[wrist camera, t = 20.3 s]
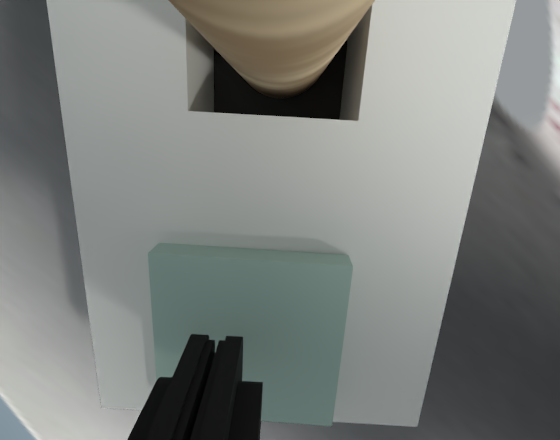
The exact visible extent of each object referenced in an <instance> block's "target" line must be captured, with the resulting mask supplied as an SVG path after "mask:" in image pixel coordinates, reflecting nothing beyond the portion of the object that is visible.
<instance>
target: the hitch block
mask: <svg viewBox="0 0 560 440" xmlns="http://www.w3.org/2000/svg"><path fill="white" fill-rule="evenodd" d="M46 1H47V9H48V16H49V24H50V31H51V38H52V46H53V53H54V61H55V68H56V76H57V83H58V91H59V98H60V106H61V113H62V120H63V128H64V135H65V143H66V150H67V158H68V165H69V173H70V180H71V188H72V195H73V203H74V210H75V217H76V225H77V232H78V240H79V247H80V255H81V262H82V270H83V277H84V285H85V292H86V299H87V307H88V314H89V322H90V329H91V337H92V344H93V352H94V359H95V367H96V374H97V381H98V389H99V396H100V404H101V408H110V409H127V410H142V409H143V407H144V405H145V403H146V401H147V399H148V397H149V395H150V393H151V391H152V389H153V387H154V385H155V383H156V366H155V352H154V337H153V323H152V308H151V293H150V279H149V264H148V252H149V251H150V250H152V249H153V248H154V247H155V246H156V245H157V244H158V243H170V244H187V245H204V246H219V247H234V248H249V249H265V250H280V251H295V252H310V253H326V254H341V255H348V256H349V258H350V260H351V263H352V265H353V272H352V279H351V287H350V295H349V302H348V310H347V317H346V325H345V332H344V340H343V347H342V355H341V363H340V370H339V378H338V385H337V393H336V400H335V408H334V415H333V422H343V423H360V424H377V425H394V426H410V427H417V426H418V421H419V417H420V413H421V409H422V404H423V400H424V396H425V391H426V387H427V383H428V378H429V374H430V370H431V365H432V361H433V357H434V352H435V348H436V344H437V340H438V335H439V331H440V327H441V322H442V318H443V314H444V309H445V305H446V301H447V296H448V292H449V288H450V283H451V279H452V275H453V271H454V266H455V262H456V258H457V253H458V249H459V245H460V240H461V236H462V232H463V227H464V223H465V219H466V215H467V210H468V206H469V202H470V197H471V193H472V189H473V184H474V180H475V176H476V171H477V167H478V163H479V158H480V154H481V150H482V146H483V141H484V137H485V133H486V128H487V124H488V120H489V115H490V111H491V107H492V102H493V98H494V94H495V89H496V85H497V81H498V77H499V72H500V68H501V63H502V59H503V55H504V51H505V46H506V42H507V38H508V33H509V29H510V25H511V20H512V16H513V12H514V7H515V3H516V0H375V1H374V2H373V4H372V5H371V6H370V8H369V9H368V11H367V12H366V13H365V15H364V16H363V17H362V19H361V20H360V22H359V23H358V24H357V26H356V27H355V28H354V30H353V31H352V33H351V34H350V35H349V37H348V41H347V51H346V61H345V70H344V80H343V89H342V99H341V109H340V118H339V120H335V119H318V118H300V117H283V116H266V115H248V114H231V113H214V47H213V46H212V45H211V44H210V43H209V42H208V41H207V40H206V39H205V38H204V37H203V36H202V35H201V34H200V33H199V32H198V31H197V30H196V29H195V28H194V27H193V26H192V25H191V24H190V22H189V21H188V20H187V19H186V18H185V17H184V16H183V15H182V14H181V13H180V12H179V11H178V10H177V9H176V8H175V7H174V6H173V5H172V4H171V3H170V2H169V1H168V0H46Z"/></svg>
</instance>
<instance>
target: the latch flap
mask: <svg viewBox="0 0 560 440" xmlns="http://www.w3.org/2000/svg"><path fill="white" fill-rule="evenodd" d="M148 264H149V279H150V293H151V308H152V323H153V337H154V352H155V366H156V381H157V379H158V378H159V377H173V374H174V372H175V370H176V367H177V365H178V363H179V360H180V358H181V356H182V353H183V351H184V349H185V347H186V344H187V342H188V340H189V337H190V335H191V334H202V335H209V340H215V352H216V349H217V346H218V342H219V340H225V338H226V336H240V337H243V372H242V381H252V382H263V392H262V411H261V421H266V422H279V423H292V424H306V425H319V426H332V423H333V415H334V408H335V400H336V393H337V385H338V378H339V370H340V363H341V355H342V347H343V340H344V332H345V325H346V317H347V310H348V302H349V295H350V287H351V279H352V272H353V265H352V263H351V260H350V258H349V256H348V255H341V254H326V253H310V252H295V251H280V250H265V249H249V248H234V247H219V246H204V245H187V244H170V243H158V244H157V245H156V246H155V247H154V248H153V249H152V250H150V251H149V252H148Z"/></svg>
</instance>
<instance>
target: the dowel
mask: <svg viewBox="0 0 560 440" xmlns="http://www.w3.org/2000/svg"><path fill="white" fill-rule="evenodd" d="M168 1H169V2H170V3H171V4H172V5H173V6H174V7H175V8H176V9H177V10H178V11H179V12H180V13H181V14H182V15H183V16H184V17H185V18H186V19H187V20H188V21H189V22H190V24H191V25H192V26H193V27H194V28H195V29H196V30H197V31H198V32H199V33H200V34H201V35H202V36H203V37H204V38H205V39H206V40H207V41H208V42H209V43H210V44H211V45H212V46H213V47H214V48H215V49H216V51H217V52H218V53H219V54H220V55H221V56H222V57H223V58H224V59H225V60H226V61H227V62H228V63H229V64H230V65H231V66H232V67H233V68H234V69H235V70H236V71H237V72H238V73H239V74H240V75H241V76H242V78H243V79H244V80H245V81H246V82H247V83H248V84H249V85H250V86H251V87H252V88H254V89H255V90H256V91H258V92H259V93H261V94H263V95H266V96H269V97H272V98H290V97H294V96H297V95H299V94H301V93H303V92H305V91H306V90H308V89H309V88H310V87H311V86H312V85H313V84H314V83H315V82H316V81H317V80H318V78H319V77H320V76H321V74H322V73H323V71H324V70H325V69H326V67H327V66H328V64H329V63H330V62H331V60H332V59H333V58H334V56H335V55H336V53H337V52H338V51H339V49H340V48H341V46H342V45H343V44H344V42H345V41H346V40H347V38H348V37H349V35H350V34H351V33H352V31H353V30H354V28H355V27H356V26H357V24H358V23H359V22H360V20H361V19H362V17H363V16H364V15H365V13H366V12H367V11H368V9H369V8H370V6H371V5H372V4H373V2H374V1H375V0H168Z"/></svg>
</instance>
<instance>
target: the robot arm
mask: <svg viewBox="0 0 560 440" xmlns="http://www.w3.org/2000/svg"><path fill="white" fill-rule="evenodd" d="M242 372H243V337H240V336H226V338H225V340H219V342H218V346H217V349H216V352H215V340H209V335H202V334H191V335H190V337H189V340H188V342H187V344H186V347H185V349H184V351H183V353H182V356H181V358H180V360H179V363H178V365H177V367H176V370H175V372H174V374H173V377H159V378H158V379H157V381H156V383H155V385H154V387H153V389H152V391H151V393H150V395H149V397H148V399H147V401H146V403H145V405H144V407H143V409H142V411H141V413H140V415H139V417H138V419H137V421H136V423H135V425H134V428H133V430H132V432H131V434H130V436H129V438H128V440H260V427H261V411H262V392H263V382H252V381H242Z"/></svg>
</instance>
